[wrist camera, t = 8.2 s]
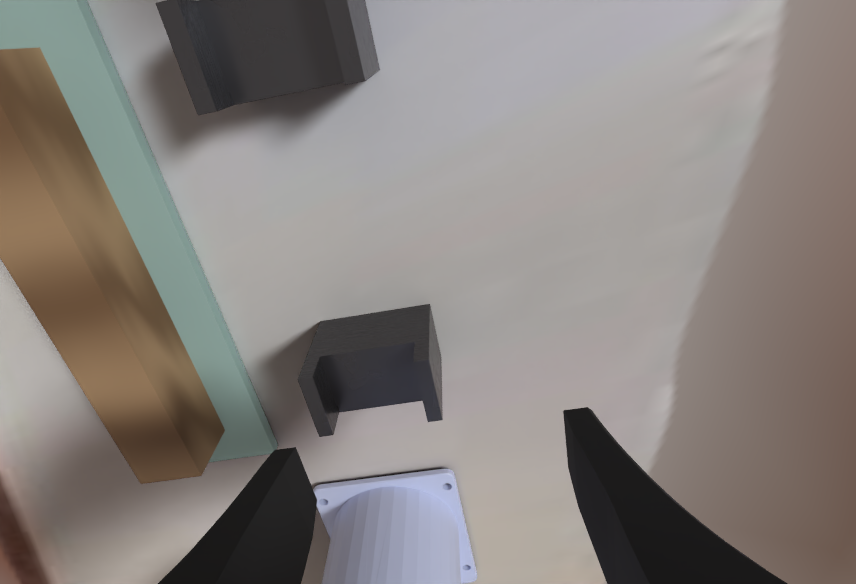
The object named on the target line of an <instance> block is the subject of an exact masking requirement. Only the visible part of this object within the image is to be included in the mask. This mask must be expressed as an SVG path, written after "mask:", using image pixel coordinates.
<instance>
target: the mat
mask: <svg viewBox="0 0 856 584" xmlns="http://www.w3.org/2000/svg"><path fill="white" fill-rule="evenodd" d="M39 47H40V49H41V51H42V53H43V55H44V57H45V59H46V61H47V63H48V65H49V67H50V69H51V71H52V73H53V76H54V78H55V80H56V82H57V84H58V86H59V88H60V90H61V92H62V94H63V96H64V98H65V100H66V102H67V104H68V107H69V109H70V111H71V113H72V115H73V117H74V119H75V121H76V123H77V125H78V127H79V129H80V131H81V133H82V135H83V138H84V140H85V142H86V144H87V146H88V148H89V150H90V152H91V154H92V156H93V158H94V160H95V162H96V164H97V166H98V168H99V171H100V173H101V175H102V177H103V179H104V181H105V183H106V185H107V187H108V189H109V191H110V193H111V195H112V197H113V199H114V202H115V204H116V206H117V208H118V210H119V212H120V214H121V216H122V218H123V220H124V222H125V224H126V226H127V228H128V230H129V233H130V235H131V237H132V239H133V241H134V243H135V245H136V247H137V249H138V251H139V253H140V255H141V257H142V259H143V261H144V264H145V266H146V268H147V270H148V272H149V274H150V276H151V278H152V280H153V282H154V284H155V286H156V288H157V290H158V292H159V294H160V297H161V299H162V301H163V303H164V305H165V307H166V309H167V311H168V313H169V315H170V317H171V319H172V321H173V323H174V325H175V328H176V330H177V332H178V334H179V336H180V338H181V340H182V342H183V344H184V346H185V348H186V350H187V352H188V354H189V356H190V359H191V361H192V363H193V365H194V367H195V369H196V371H197V373H198V375H199V377H200V379H201V381H202V383H203V385H204V387H205V389H206V392H207V394H208V396H209V398H210V400H211V402H212V404H213V406H214V408H215V410H216V412H217V414H218V416H219V418H220V420H221V423H222V425H223V427H224V429H225V432H224V433H223V435H222V437H221V439H220V441H219V443H218V445H217V447H216V449H215V451H214V453H213V455H212V456H211V458H210V460H209V462H214V461H221V460H229V459H236V458H243V457H251V456H258V455H266V454H272V452H273V451H274V450H276V449H277V446H278V444H277V441H276V439H275V437H274V434H273V432H272V430H271V428H270V425H269V423H268V421H267V418H266V416H265V414H264V411H263V409H262V407H261V404H260V402H259V400H258V397H257V395H256V393H255V390H254V388H253V386H252V383H251V381H250V379H249V376H248V374H247V372H246V369H245V367H244V365H243V362H242V360H241V358H240V356H239V353H238V351H237V349H236V346H235V344H234V342H233V339H232V337H231V335H230V332H229V330H228V328H227V325H226V323H225V321H224V318H223V316H222V314H221V311H220V309H219V307H218V304H217V302H216V300H215V297H214V295H213V293H212V291H211V288H210V286H209V284H208V281H207V279H206V277H205V274H204V272H203V270H202V267H201V265H200V263H199V260H198V258H197V256H196V253H195V251H194V249H193V246H192V244H191V242H190V239H189V237H188V235H187V232H186V230H185V228H184V225H183V223H182V221H181V219H180V216H179V214H178V212H177V209H176V207H175V205H174V202H173V200H172V198H171V195H170V193H169V191H168V188H167V186H166V184H165V181H164V179H163V177H162V174H161V172H160V170H159V167H158V165H157V163H156V160H155V158H154V156H153V153H152V151H151V149H150V147H149V144H148V142H147V140H146V137H145V135H144V133H143V130H142V128H141V126H140V123H139V121H138V119H137V116H136V114H135V112H134V109H133V107H132V105H131V102H130V100H129V98H128V95H127V93H126V91H125V88H124V86H123V84H122V81H121V79H120V77H119V75H118V72H117V70H116V68H115V65H114V63H113V61H112V58H111V56H110V54H109V51H108V49H107V47H106V44H105V42H104V40H103V37H102V35H101V33H100V30H99V28H98V26H97V23H96V21H95V19H94V16H93V14H92V12H91V9H90V7H89V5H88V3H87V0H0V49H19V48H39Z"/></svg>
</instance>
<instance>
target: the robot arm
mask: <svg viewBox="0 0 856 584" xmlns="http://www.w3.org/2000/svg"><path fill="white" fill-rule="evenodd" d="M563 412H564V423H565V435H566V446H567V457H568V468H569V472H570V476H571V480H572V484H573V488H574V492H575V495H576V499H577V503H578V507H579V509H580V512H581V515H582V517H583V520H584V523H585V525H586V528H587V531H588V534H589V536H590V539H591V542H592V544H593V547H594V549H595V552H596V555H597V557H598V560H599V563H600V565H601V568H602V571H603V573H604V576H605V579H606V581H607V584H787V583H786V582H784V581H782V580H781V579H779V578H778V577H776V576H775V575H773V574H771V573H770V572H768V571H767V570H766V569H764V568H763V567H761V566H760V565H758V564H757V563H755V562H754V561H753V560H751V559H750V558H748V557H747V556H745V555H744V554H743V553H741V552H740V551H738V550H737V549H735V548H734V547H732V546H731V545H730V544H728V543H727V542H725V541H724V540H723V539H721V538H720V537H719V536H718V535H716V534H715V533H714V532H712V531H711V530H710V529H709V528H707V527H706V526H705V525H703V524H702V523H701V522H700V521H699V520H697V519H696V518H695V517H694V516H692V515H691V514H690V513H689V512H688V511H686V510H685V509H684V508H683V507H682V506H681V505H679V504H678V503H677V502H676V501H675V500H674V499H673V498H672V497H671V496H669V495H668V494H667V493H666V492H665V491H664V490H663V489H662V488H661V487H660V486H659V485H658V484H657V483H656V482H654V480H652V479H651V478H650V477H649V476H648V475H647V474H646V473H645V472H644V471H643V470H642V468H641V467H640V466H639V465H638V464H637V463H636V462H635V461H634V460H633V459H632V458H631V457H630V456H629V455H628V454H627V453H626V452H625V450H624V449H623V448H622V447H621V446H620V445H619V444H618V443H617V441H616V440H615V439H614V438H613V437H612V436H611V434H610V433H609V432H608V431H607V430H606V428H605V427H604V426H603V425H602V423H601V422H600V421H599V419H598V418H597V417H596V415H595V414H594V413H593V411H592V410H591V409H589V408H588V407H586V408H579V409H572V410H564V411H563ZM446 483H449V484H446ZM324 499H326V500H324ZM316 506H317V508H318V511H319V513H320V516H321V518H322V520H323V523H324V525H325V528H326V530H327V532H328V535H329V537H330V545H329V550H328V555H327V560H326V564H325V569H324V574H323V579H322V584H461V583H470V582H474V581H475V580H476V579H477V571H476V566H475V562H474V557H473V553H472V549H471V544H470V540H469V535H468V531H467V527H466V522H465V518H464V514H463V509H462V505H461V500H460V496H459V492H458V487H457V483H456V478H455V474H454V472H453V471H452V470H450V469H437V470H430V471H422V472H414V473H406V474H398V475H390V476H383V477H375V478H367V479H359V480H351V481H344V482H336V483H328V484H320V485H317V486H315V487H314V489H312V486H311V484H310V481H309V479H308V476H307V474H306V472H305V469H304V467H303V464H302V462H301V460H300V457H299V455H298V452H297V450H296V447H295V448H287V449H280V450H274V451H273V452H272V454H271V455H270V456H269V457H268V458H267V460H266V461H265V462H264V463H263V465H262V466H261V467H260V468H259V470H258V471H257V472H256V474H255V475H254V476H253V477H252V479H251V480H250V481H249V482H248V484H247V485H246V486H245V488H244V489H243V490H242V491H241V492H240V494H239V495H238V496H237V497H236V499H235V500H234V501H233V502H232V504H231V505H230V506H229V507H228V509H227V510H226V511H225V512H224V513H223V515H222V516H221V517H220V518H219V519H218V520H217V521H216V523H215V524H214V525H213V526H212V527H211V528H210V529H209V531H208V532H207V533H206V534H205V535H204V536H203V537H202V539H201V540H200V541H199V542H198V543H197V544H196V545H195V546H194V548H193V549H192V550H191V551H190V552H189V553H188V554H187V555H186V556H185V557H184V558H183V559H182V560H181V561H180V562H179V563H178V564H177V565H176V566H175V567H174V568H173V569H172V570H171V571H170V572H169V573H168V574H167V575H166V576H165V577H164V578H163V579H162V580H161V581H160V582H159V583H158V584H301V581H302V577H303V573H304V569H305V565H306V561H307V557H308V553H309V549H310V545H311V541H312V536H313V529H314V522H315V514H316Z"/></svg>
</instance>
